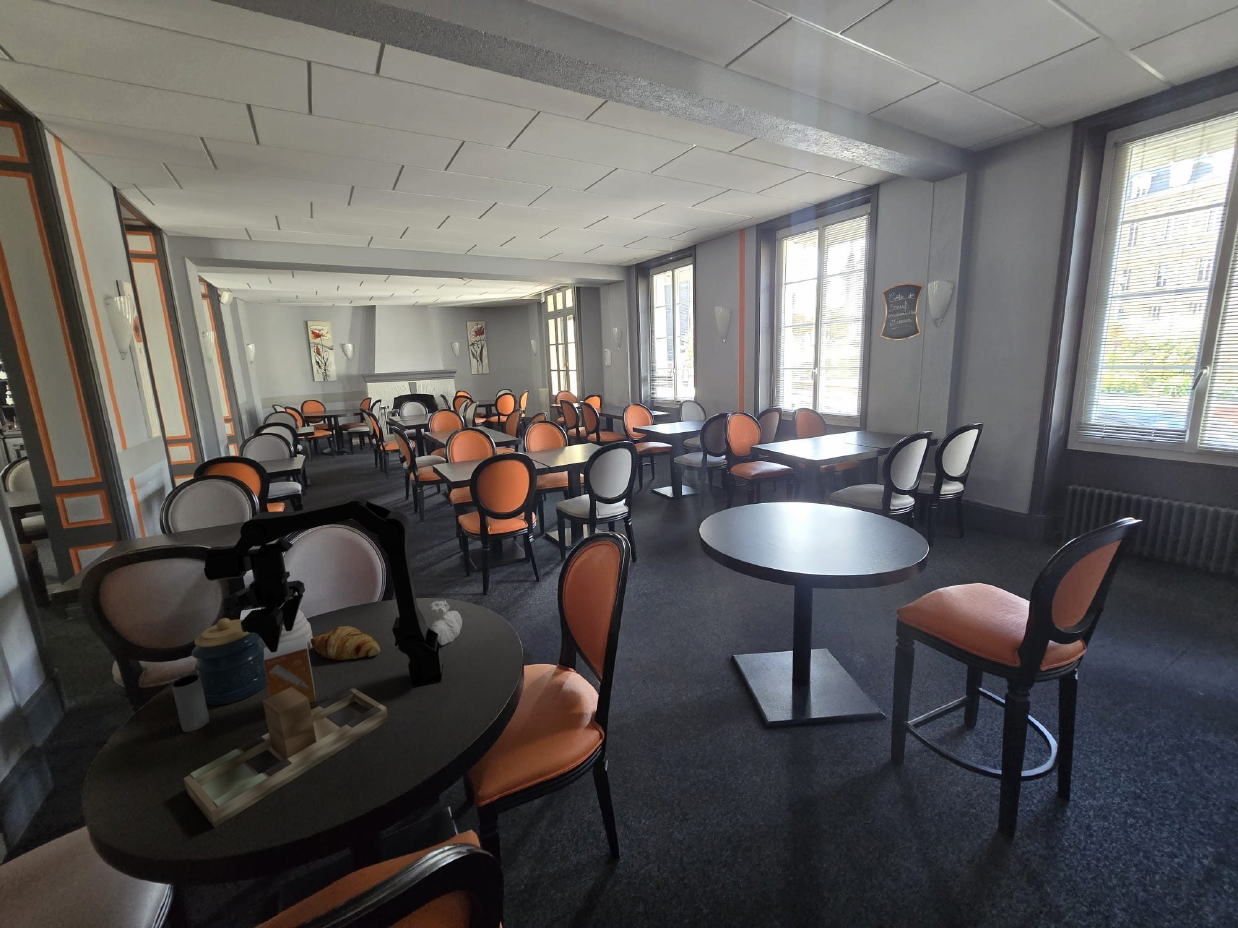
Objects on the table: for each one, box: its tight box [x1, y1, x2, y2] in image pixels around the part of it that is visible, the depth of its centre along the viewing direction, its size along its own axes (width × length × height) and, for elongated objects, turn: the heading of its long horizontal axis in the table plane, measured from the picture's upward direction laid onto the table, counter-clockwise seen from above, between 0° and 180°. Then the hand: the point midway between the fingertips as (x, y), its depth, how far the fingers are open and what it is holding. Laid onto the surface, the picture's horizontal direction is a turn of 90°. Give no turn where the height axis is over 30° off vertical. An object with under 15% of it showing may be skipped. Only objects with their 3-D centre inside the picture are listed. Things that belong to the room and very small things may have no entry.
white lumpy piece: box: [428, 599, 463, 646], centre depth 140 cm, size 12×8×11 cm
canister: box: [191, 617, 268, 706], centre depth 120 cm, size 13×13×18 cm
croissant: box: [310, 625, 381, 661], centre depth 135 cm, size 21×10×8 cm, turn 76°
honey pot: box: [260, 602, 314, 651], centre depth 137 cm, size 13×13×18 cm
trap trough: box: [183, 687, 389, 829], centre depth 99 cm, size 30×13×3 cm, turn 145°
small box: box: [264, 637, 317, 704], centre depth 115 cm, size 8×6×13 cm
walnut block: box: [262, 687, 316, 759], centre depth 98 cm, size 5×7×10 cm
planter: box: [171, 674, 210, 733], centre depth 109 cm, size 4×4×10 cm
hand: (282, 640), depth 113 cm, fingers open, 9 cm apart
